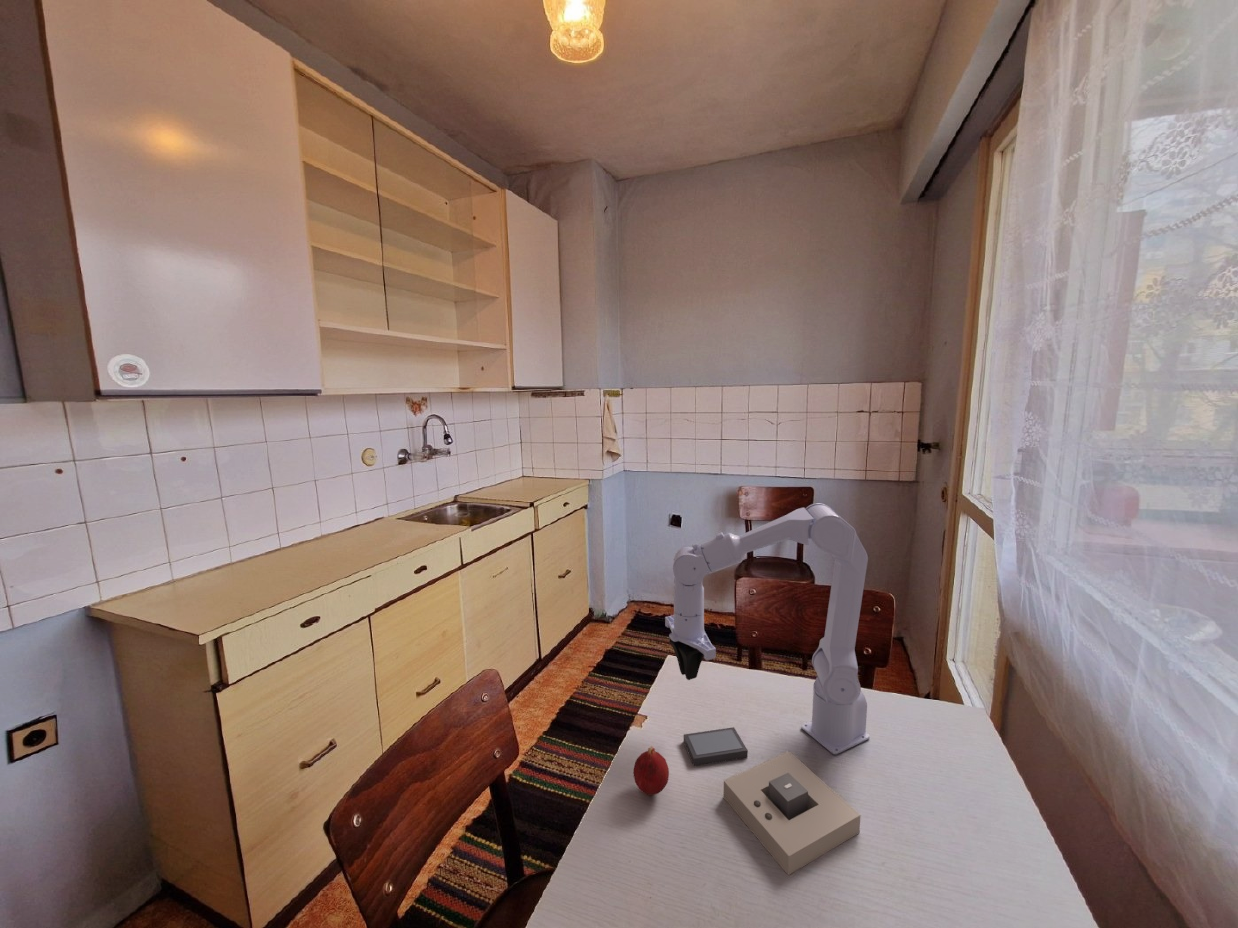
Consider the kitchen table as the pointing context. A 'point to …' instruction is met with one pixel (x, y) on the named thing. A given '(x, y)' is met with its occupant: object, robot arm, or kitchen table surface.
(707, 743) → the phone
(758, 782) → the outlet plate
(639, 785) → the onion
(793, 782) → the block
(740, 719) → the kitchen table surface
